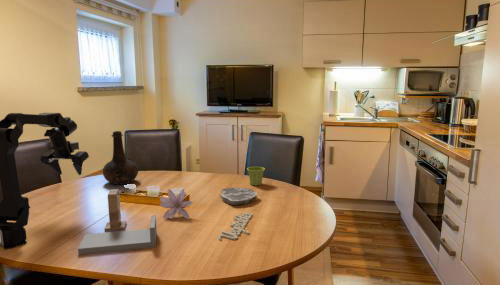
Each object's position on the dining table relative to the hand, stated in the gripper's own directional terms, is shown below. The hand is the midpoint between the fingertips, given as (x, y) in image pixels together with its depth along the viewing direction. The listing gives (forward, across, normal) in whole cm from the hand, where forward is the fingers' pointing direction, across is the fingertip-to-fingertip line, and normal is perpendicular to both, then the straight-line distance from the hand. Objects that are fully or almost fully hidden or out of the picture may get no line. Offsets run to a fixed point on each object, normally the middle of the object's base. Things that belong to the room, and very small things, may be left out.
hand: (70, 174), depth 151 cm
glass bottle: (+27, +1, -34) cm, 43 cm away
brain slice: (+24, -68, -19) cm, 74 cm away
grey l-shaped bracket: (+8, -36, +30) cm, 48 cm away
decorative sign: (+16, -74, +11) cm, 76 cm away
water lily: (+16, -46, +5) cm, 49 cm away
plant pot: (+31, -72, -42) cm, 89 cm away
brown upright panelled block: (+11, -28, +19) cm, 36 cm away
